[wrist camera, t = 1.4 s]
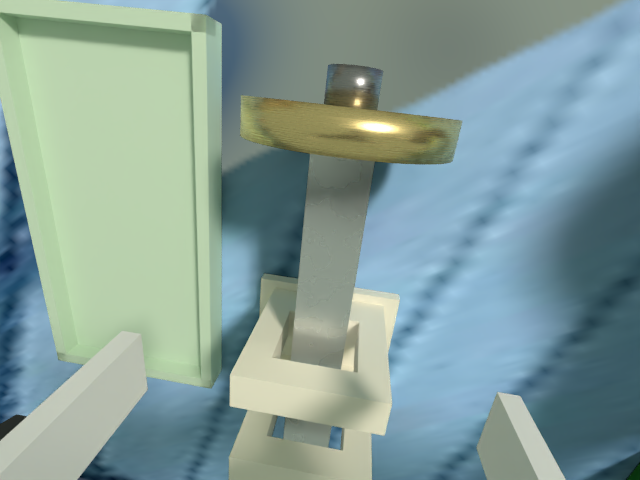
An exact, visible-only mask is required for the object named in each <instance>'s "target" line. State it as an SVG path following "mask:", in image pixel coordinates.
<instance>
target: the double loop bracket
mask: <svg viewBox="0 0 640 480" xmlns="http://www.w3.org/2000/svg"><path fill="white" fill-rule="evenodd" d="M297 288H298V279H297V278H291V277H285V276H278V275H272V274H266V273H264V275H263V276H262V278H261V294H260V314H259V320H258V322H257V323H256V325H255V327H254V329H253V331H252V333H251V335H250V337H249V339H248V341H247V343H246V345H245V347H244V349H243V351H242V352H241V354H240V356H239V358H238V360H237V362H236V364H235V366H234V368H233V370H232V372H231V374H230V406H231V407H236V408H241V409H247V413H246V415H245V418H244V421H243V423H242V426H241V428H240V431H239V433H238V436H237V438H236V441H235V443H234V446H233V448H232V451H231V453H230V456H229V480H372V452H371V433H373V434H378V435H383V436H384V435H385V431H386V427H387V423H388V419H389V415H390V411H391V407H392V397H391V386H390V375H389V363H388V351H389V346H390V342H391V337H392V333H393V328H394V324H395V319H396V315H397V310H398V306H399V301H400V299H399V294H393V293H387V292H380V291H374V290H368V289H361V288H355V287H354V292H353V298H352V305H351V311H350V317H349V323H348V329H347V335H346V341H345V347H344V353H343V359H342V366H341V370H340V369H334V368H328V367H323V366H317V365H311V364H306V363H300V362H294V361H291V352H292V341H293V330H294V320H295V309H296V298H297ZM278 416H283V417H289V418H294V419H299V420H304V421H310V422H315V423H320V424H325V425H331V426H336V427H341V428H342V436H341V449H340V450H337V449H332V448H326V447H321V446H316V445H311V444H306V443H301V442H296V441H291V440H286V439H281V438H275V437H272V434H273V431H274V427H275V424H276V420H277V417H278Z"/></svg>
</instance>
